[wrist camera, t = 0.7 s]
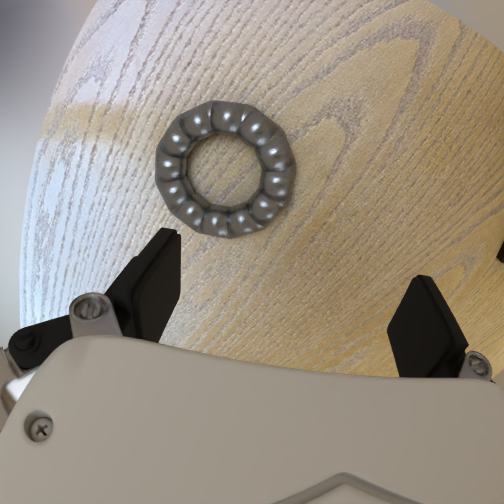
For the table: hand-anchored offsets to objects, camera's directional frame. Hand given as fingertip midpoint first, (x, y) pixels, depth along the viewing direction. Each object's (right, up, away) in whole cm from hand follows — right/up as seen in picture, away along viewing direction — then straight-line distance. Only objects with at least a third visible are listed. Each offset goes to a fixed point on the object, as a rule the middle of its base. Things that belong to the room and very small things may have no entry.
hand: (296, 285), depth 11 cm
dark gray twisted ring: (-4, +8, +14) cm, 16 cm away
